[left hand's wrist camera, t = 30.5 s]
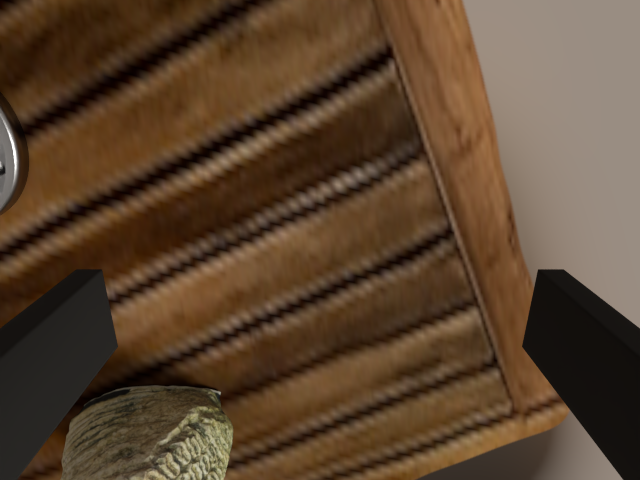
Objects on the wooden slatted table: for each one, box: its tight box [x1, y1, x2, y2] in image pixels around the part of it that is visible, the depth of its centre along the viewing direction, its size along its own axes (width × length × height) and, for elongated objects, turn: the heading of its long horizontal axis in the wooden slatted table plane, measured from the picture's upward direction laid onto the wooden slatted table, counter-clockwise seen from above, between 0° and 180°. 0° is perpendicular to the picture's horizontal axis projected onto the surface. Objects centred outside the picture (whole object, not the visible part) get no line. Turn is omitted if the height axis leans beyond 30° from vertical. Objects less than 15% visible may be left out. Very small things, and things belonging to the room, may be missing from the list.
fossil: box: [61, 385, 233, 480], centre depth 40 cm, size 9×18×15 cm, turn 109°
